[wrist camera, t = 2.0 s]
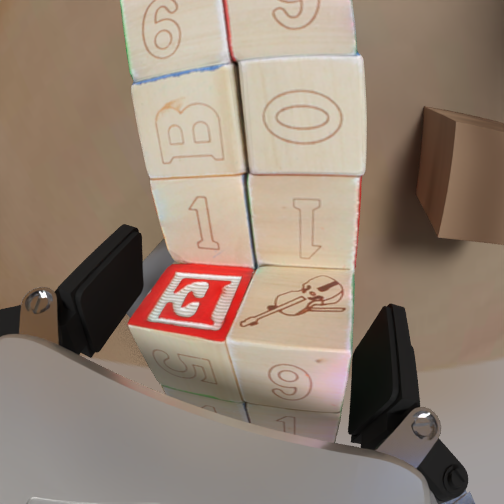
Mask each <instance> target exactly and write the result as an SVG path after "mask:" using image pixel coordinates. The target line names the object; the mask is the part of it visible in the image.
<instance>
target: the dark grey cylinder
mask: <svg viewBox="0 0 504 504" xmlns="http://www.w3.org/2000/svg"><path fill="white" fill-rule="evenodd" d="M174 261H175V260H174V259H173V258H172V257H171V255H170V253H169V251H168V249H167V246H166V243H165V239H163V240H162V241H161V242H160V243H159V244H158V245H157V247H156V248H155V249H154V250H153V251H152V252H151V253H150V254H149V255H148V256H147V258H146V259H145V260H144V261H143V281H144V287H143V290H142V293H141V294H140V296H139V297H138V298H137V300H136V301H135V302H134V304H133V305H132V306H131V308H130V309H129V311H128V312H127V315H128V316H129V317H130V318H131V316H132V315H133V313H134V312H135V311H136V309H137V308H138V307H139V305H140V304H141V302H142V301H143V300H144V298H145V297H146V296H147V294H148V293H149V292H150V290H151V289H152V288H153V287H154V285H155V284H156V282H157V281H158V279H159V278H160V276H161V275H162V274H163V273H164V271H165V270H166V269H167V268H168V267H169V266H170V265H172V264H173V263H174Z"/></svg>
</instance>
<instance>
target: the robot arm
mask: <svg viewBox="0 0 504 504" xmlns="http://www.w3.org/2000/svg"><path fill="white" fill-rule="evenodd" d="M143 287H144V281H143V261H142V235H141V233H139V231H138V229H137V228H135V227H132V226H129V225H126V224H123V225H122V226H121V227H119V228H118V229H117V230H116V231H115V232H114V233H113V234H112V235H111V236H110V237H109V238H107V239H106V240H105V241H104V242H103V243H102V244H101V245H100V246H99V247H98V248H97V249H96V250H95V251H94V252H93V253H92V254H91V255H90V256H89V257H88V258H86V259H85V260H84V261H83V262H82V263H81V264H80V265H79V266H78V267H77V268H76V269H75V270H74V271H73V272H72V273H71V274H70V275H69V276H68V277H67V278H66V280H65V281H64V282H63V283H62V284H61V285H60V286H59V287H58V289H57V290H56V291H55V292H54V291H53V290H51V289H50V288H46V287H39V288H35V289H33V290H31V291H29V292H28V293H27V294H26V295H25V296H24V298H23V299H22V303H21V305H19V306H15V307H10V308H5V309H1V310H0V504H475V502H474V500H473V498H472V495H471V493H470V492H468V493H467V492H466V488H467V484H468V475H467V472H466V470H465V468H464V467H463V465H462V464H461V463H460V462H459V461H458V460H457V459H456V457H455V456H454V455H453V454H452V453H451V452H450V451H449V449H448V448H447V447H446V446H445V445H444V444H443V443H442V442H441V440H440V439H439V436H440V434H441V424H440V420H439V418H438V416H437V415H436V414H435V413H434V412H433V411H432V410H430V409H428V408H425V407H420V399H419V389H418V379H417V370H416V362H415V355H414V349H413V347H412V346H411V343H410V336H409V330H408V324H407V318H406V312H405V308H404V307H401V306H397V305H394V304H389V305H388V306H387V307H386V306H384V307H383V308H382V309H381V311H380V312H379V314H378V316H377V317H376V319H375V320H374V322H373V324H372V325H371V327H370V328H369V330H368V331H367V333H366V334H365V336H364V337H363V339H362V340H361V342H360V343H359V345H358V346H357V348H356V349H355V351H354V354H353V358H352V381H351V399H350V400H351V401H350V414H349V426H348V432H349V434H351V435H352V436H351V442H352V443H359V444H361V448H359V447H354V446H348V445H343V444H337V443H332V442H327V441H322V440H317V439H312V438H308V437H303V436H298V435H294V434H289V433H285V432H281V431H277V430H273V429H269V428H265V427H262V426H258V425H254V424H251V423H247V422H244V421H241V420H237V419H234V418H231V417H227V416H224V415H221V414H218V413H215V412H212V411H209V410H206V409H203V408H200V407H197V406H194V405H192V404H189V403H186V402H184V401H181V400H178V399H176V398H173V397H170V396H168V395H165V394H163V393H160V392H158V391H155V390H153V389H151V388H148V387H146V386H143V385H141V384H139V383H136V382H134V381H132V380H130V379H127V378H125V377H123V376H121V375H119V374H117V373H114V372H112V371H110V370H108V369H106V368H104V367H102V366H100V365H98V364H96V363H94V362H92V361H90V360H88V359H86V358H84V357H82V356H80V355H79V354H80V353H83V354H85V355H87V356H88V357H90V358H91V357H92V356H93V354H94V353H95V352H99V351H100V350H101V349H102V347H103V346H104V344H105V343H106V341H107V340H108V339H109V337H110V336H111V334H112V333H113V331H114V330H115V329H116V327H117V326H118V324H119V323H120V322H121V320H122V319H123V317H124V316H125V315H126V313H127V312H128V311H129V309H130V308H131V306H132V305H133V304H134V302H135V301H136V300H137V298H138V297H139V296H140V294H141V293H142V290H143Z"/></svg>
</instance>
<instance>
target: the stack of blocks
mask: <svg viewBox="0 0 504 504" xmlns="http://www.w3.org/2000/svg"><path fill="white" fill-rule="evenodd" d="M120 5H121V12H122V20H123V28H124V36H125V43H126V52H127V58H128V63H129V70H130V74H131V76H132V79H133V81H134V82H133V84H132V86H131V94H132V99H133V104H134V110H135V115H136V121H137V126H138V131H139V136H140V141H141V145H142V150H143V154H144V159H145V164H146V169H147V172H148V175H149V177H150V178H151V180H150V186H151V193H152V196H153V200H154V204H155V208H156V212H157V215H158V219H159V222H160V226H161V229H162V232H163V236H164V239H165V243H166V246H167V249H168V251H169V253H170V255H171V257H172V258H173V259H174V260H175V261H174V263H173V264H172V265H170V266H169V267H168V268H167V269H166V270H165V271H164V273H163V274H162V275H161V276H160V278H159V279H158V281H157V282H156V284H155V285H154V287H153V288H152V289H151V290H150V292H149V293H148V294H147V296H146V297H145V298H144V300H143V301H142V302H141V304H140V305H139V307H138V308H137V309H136V311H135V312H134V313H133V315H132V316H131V318H130V320H129V322H128V323H127V324H128V327H129V329H130V331H131V333H132V335H133V337H134V339H135V341H136V343H137V345H138V347H139V349H140V351H141V353H142V355H143V357H144V358H145V360H146V362H147V364H148V366H149V368H150V369H151V371H152V373H153V374H154V376H155V378H156V380H157V381H158V382H159V383H160V384H161V385H162V388H163V390H164V392H165V394H166V395H168V396H170V397H173V398H176V399H178V400H181V401H184V402H186V403H189V404H192V405H194V406H197V407H200V408H203V409H206V410H209V411H212V412H215V413H218V414H221V415H224V416H227V417H231V418H234V419H237V420H241V421H244V422H247V423H251V424H254V425H258V426H262V427H265V428H269V429H273V430H277V431H281V432H285V433H289V434H294V435H298V436H303V437H308V438H312V439H317V440H322V441H327V442H332V443H335V441H336V436H337V432H338V428H339V424H340V418H341V411H342V405H343V401H344V395H345V390H346V385H347V380H348V375H349V369H350V363H351V358H352V346H353V321H354V287H355V283H354V271H355V267H356V256H357V245H358V233H359V218H360V202H361V181H362V176H363V174H364V173H365V171H366V145H367V113H366V89H365V72H364V59H363V58H362V56H361V55H360V54H359V53H358V51H357V41H356V30H355V21H354V12H353V4H352V0H120Z"/></svg>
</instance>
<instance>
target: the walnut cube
mask: <svg viewBox="0 0 504 504" xmlns="http://www.w3.org/2000/svg"><path fill="white" fill-rule="evenodd" d="M416 195H417V197H418V199H419V201H420V203H421V205H422V206H423V208H424V210H425V212H426V214H427V216H428V218H429V220H430V222H431V224H432V226H433V228H434V230H435V232H436V235H437V237H438V238H448V239H457V240H466V241H475V242H484V243H492V244H501V245H504V124H503V123H500V122H496V121H492V120H489V119H485V118H480V117H476V116H472V115H467V114H463V113H458V112H453V111H448V110H442V109H436V108H431V107H424V117H423V133H422V146H421V156H420V166H419V174H418V182H417V189H416Z"/></svg>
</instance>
